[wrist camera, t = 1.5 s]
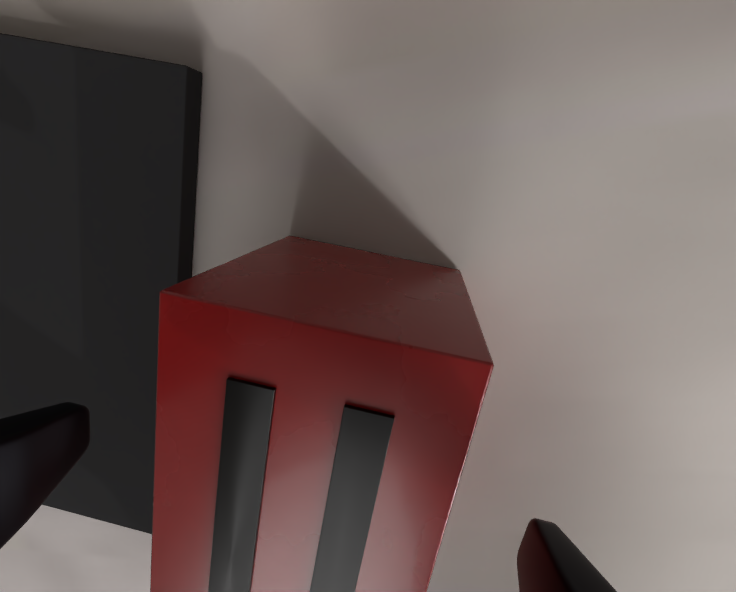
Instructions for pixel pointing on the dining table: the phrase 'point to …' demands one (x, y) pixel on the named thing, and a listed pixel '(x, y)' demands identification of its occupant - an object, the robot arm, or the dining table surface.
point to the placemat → (93, 251)
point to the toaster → (311, 421)
